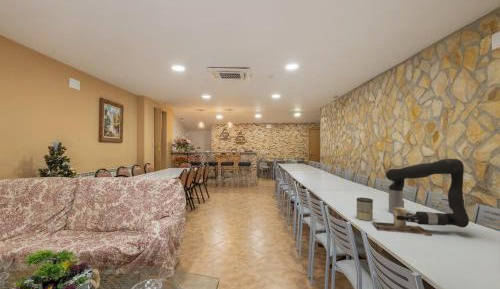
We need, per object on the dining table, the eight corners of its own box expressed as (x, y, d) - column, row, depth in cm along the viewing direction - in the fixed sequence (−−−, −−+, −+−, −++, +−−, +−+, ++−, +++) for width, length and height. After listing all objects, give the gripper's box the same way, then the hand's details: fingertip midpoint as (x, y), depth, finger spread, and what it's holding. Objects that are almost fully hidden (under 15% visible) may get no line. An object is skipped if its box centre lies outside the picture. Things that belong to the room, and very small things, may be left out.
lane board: (419, 227, 154) (419, 223, 154) (432, 235, 140) (432, 232, 140) (370, 223, 160) (370, 220, 160) (377, 231, 146) (377, 228, 146)
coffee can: (354, 217, 175) (354, 197, 174) (369, 217, 174) (369, 197, 173) (359, 221, 164) (359, 200, 164) (375, 222, 163) (375, 201, 163)
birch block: (402, 226, 152) (402, 207, 152) (405, 229, 147) (406, 209, 147) (393, 226, 153) (393, 207, 153) (396, 228, 148) (396, 209, 148)
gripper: (420, 208, 154) (391, 207, 157) (432, 215, 140) (399, 213, 143) (420, 220, 154) (390, 218, 157) (432, 228, 140) (399, 226, 143)
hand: (395, 216), depth 150 cm, fingers closed on birch block, 5 cm apart
